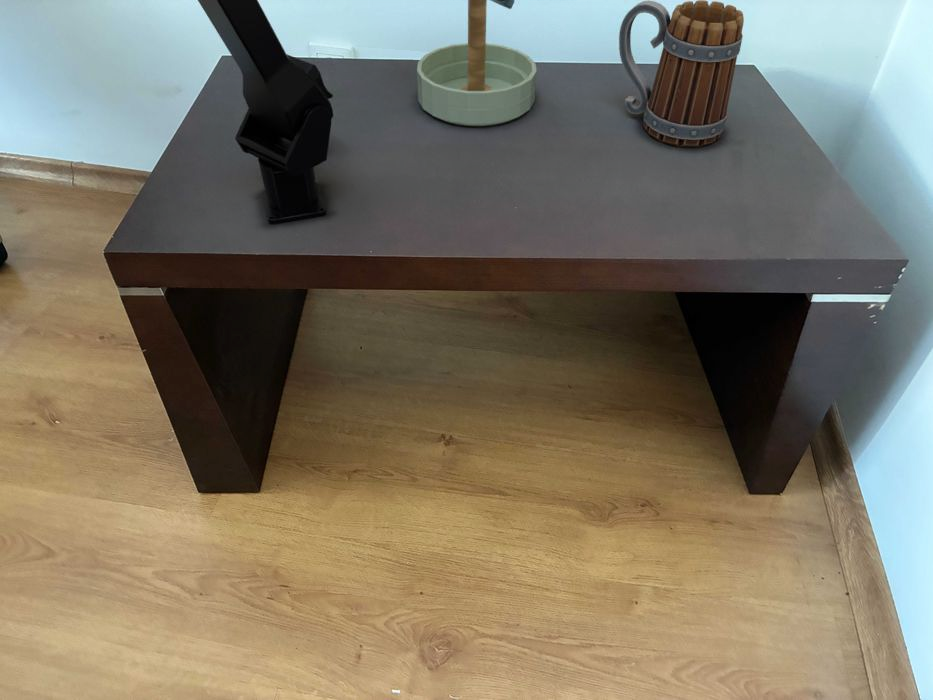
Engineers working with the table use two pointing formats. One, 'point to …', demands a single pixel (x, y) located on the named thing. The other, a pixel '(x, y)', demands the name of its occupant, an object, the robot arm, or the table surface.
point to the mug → (686, 70)
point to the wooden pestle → (476, 46)
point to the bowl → (449, 103)
